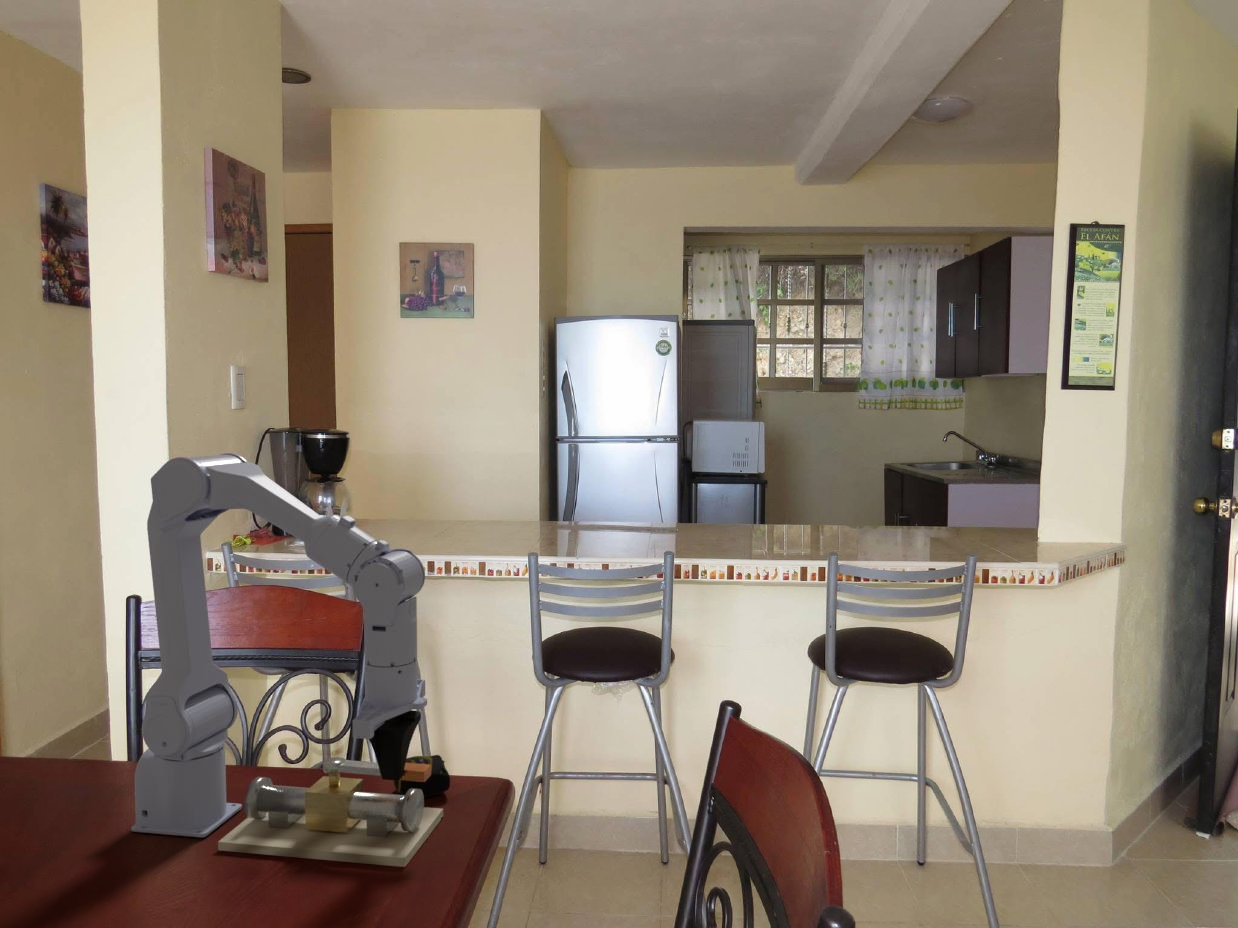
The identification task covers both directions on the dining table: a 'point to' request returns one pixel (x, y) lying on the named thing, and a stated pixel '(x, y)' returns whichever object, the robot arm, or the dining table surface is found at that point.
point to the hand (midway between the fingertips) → (392, 778)
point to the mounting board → (331, 841)
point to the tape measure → (434, 783)
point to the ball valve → (334, 806)
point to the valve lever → (375, 768)
